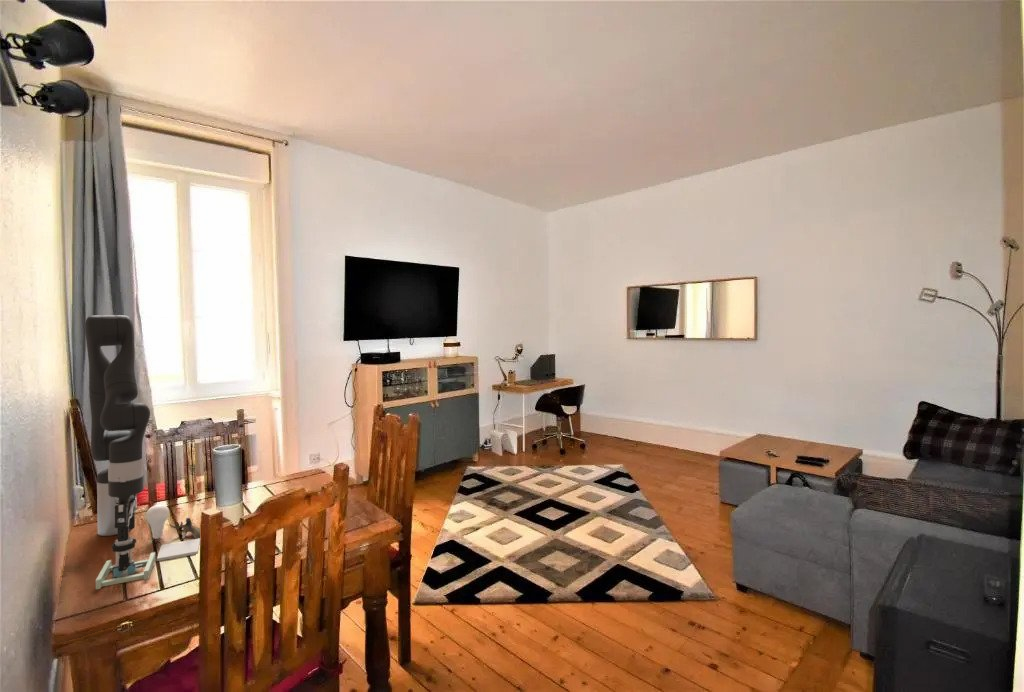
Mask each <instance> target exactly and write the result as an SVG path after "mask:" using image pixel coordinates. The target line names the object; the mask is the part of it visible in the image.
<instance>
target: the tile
mask: <svg viewBox="0 0 1024 692" xmlns="http://www.w3.org/2000/svg"><path fill="white" fill-rule="evenodd" d="M200 545H201V538H198V539H197V538H196V539H195V538H194V539H187V540H183V541H178V542H172V543H171V542H170V543H166V544H161V546H160V548H159V552H158V554H157V558H156V562H159V561H165V560H171V559H177V558H182V557H188V556H193V555H198V554H199V551H200V550H199V549H200Z"/></svg>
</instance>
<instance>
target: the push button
mask: <svg viewBox="0 0 1024 692" xmlns="http://www.w3.org/2000/svg"><path fill="white" fill-rule="evenodd" d="M136 543H137V539H136V538H133V537H132V536H129V538H128V540H127V541H121V542H119V541H118V538H117V539H115V540H114V542H113V543H112V544H110V546H111V549H112V552H114V553H115V564H113V566H114V567H113V568H112V569H113V571H112V577H113V578H112V579H115V578H120V577H126V576H131V575H135V573H136V571H138V570H142V569H143V566H141V565H142V564H140V565H135V563H134V562H135V560H134V559H133V549H134V548H135V547H136Z"/></svg>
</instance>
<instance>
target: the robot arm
mask: <svg viewBox="0 0 1024 692" xmlns="http://www.w3.org/2000/svg"><path fill="white" fill-rule="evenodd" d="M84 331H85V333H84V335H85V341H86V349H87V357H88V358H87V359H88V369H89V372H88V374H89V377H88V379H89V380H88V390H89V394H88V395H89V404H90V415H91V417H90V418H91V428H90V429H91V430H90V454H91V457H92V460H94V461H96V462H107V461H109V462H108V467H107V468H106V469H104V470H101V471H99V472H98V474H96V475H97V476H96V481H97V482H96V495H97V496H96V497H97V499H96V501H97V503H96V505H97V507H96V508H97V509H96V511H97V512H96V513H97V521H96V522H97V535H98V536H103V537H104V536H105V537H107V536H109V537H110V536H114V535H117V539H118V541H119V542H121V541H127V540H128V538H129V535H130V534H129V533H130V531H131V530H134V529H135V527H136V520H135V519H136V517H135V515H136V514H137V510H138V504H137V503H138V499H137V498H138V495H137V494H141V493H142V492H144V489H145V488H144V462H143V442H144V441H143V439H144V436H145V432H146V429H147V426H148V424H149V420H150V417H151V411H150V408H149V406H148V405H146V404H145V403H143V402H133V403H131V402H132V401H135V399H137V397H138V394H139V391H138V386H137V384H138V383H137V379H136V373H135V359H136V358H135V354H136V351H135V350H136V349H135V329H134V323H133V320H132V319H131V317H130V316H128V315H121V314H118V315H117V314H109V315H108V314H105V315H103V314H99V315H89V316H88V317H87V318H86V319H85V322H84ZM112 346H113V347H114V346H121V348H120V350H119V353H118V354H117V355H116V356H115V357H114V359H113V360H112V361H110V360H109V359H108V358H107V356H106V355H105V353H104V352H103V349H102V347H112ZM131 430H132V431H131ZM105 431H107V432H105Z"/></svg>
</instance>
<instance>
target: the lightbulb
mask: <svg viewBox="0 0 1024 692" xmlns="http://www.w3.org/2000/svg"><path fill="white" fill-rule="evenodd" d="M169 516H170V509H169V507H167V506H166V505H165V504H155V505H152V506H151V507H150V508H148V509H147V511H146V512H145V520H146V522H147V524H149V526H150V530H151V532H152V538H153V539H155V540H159V539H160V538H162V537H163V532H164V528H165V523H166V521H167V520H168V518H169Z"/></svg>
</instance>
